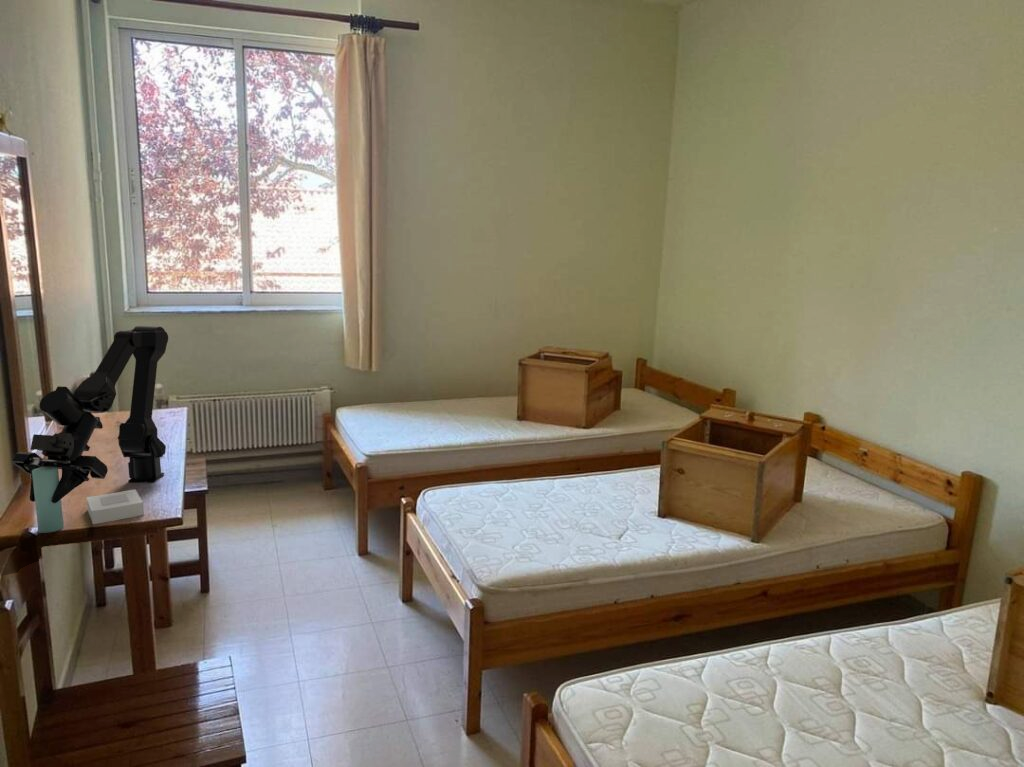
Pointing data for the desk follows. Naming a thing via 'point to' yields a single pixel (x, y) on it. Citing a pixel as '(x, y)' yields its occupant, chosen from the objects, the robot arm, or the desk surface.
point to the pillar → (47, 499)
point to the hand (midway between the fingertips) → (42, 501)
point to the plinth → (114, 506)
